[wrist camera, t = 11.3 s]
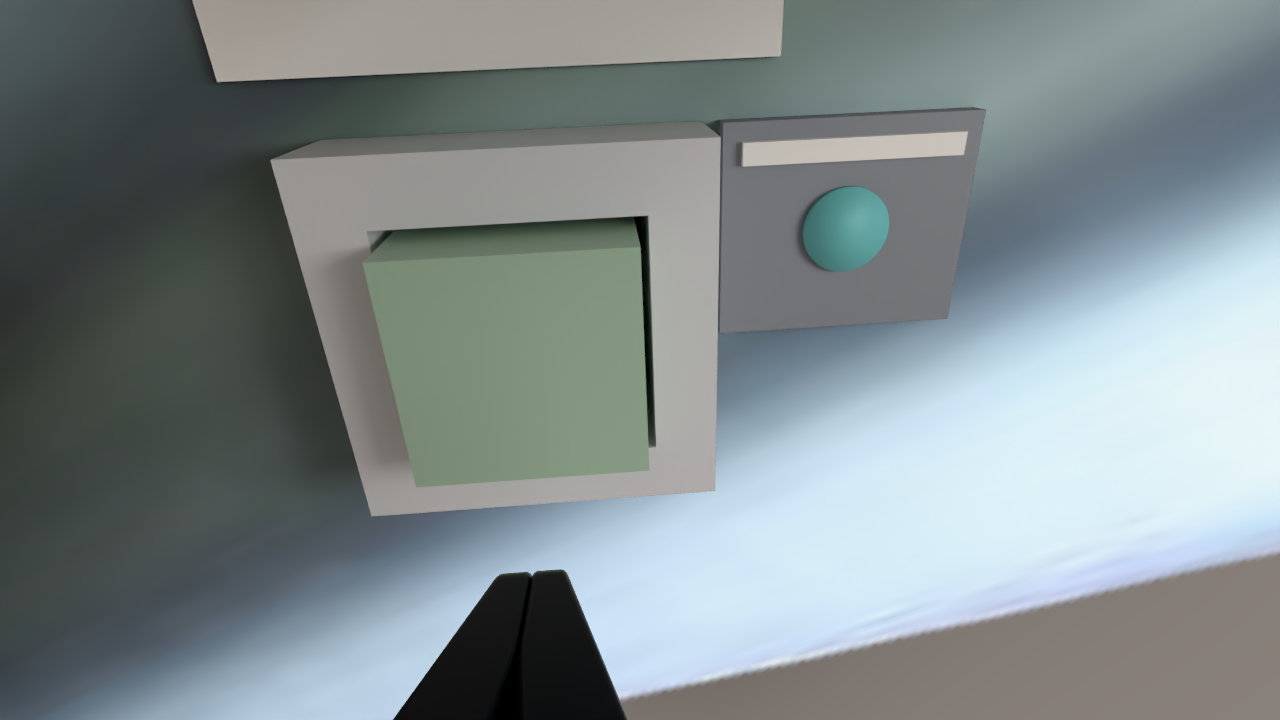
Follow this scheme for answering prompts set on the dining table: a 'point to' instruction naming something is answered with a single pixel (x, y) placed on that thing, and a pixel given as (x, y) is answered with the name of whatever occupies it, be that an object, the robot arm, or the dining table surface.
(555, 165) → the button housing
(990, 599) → the dining table surface
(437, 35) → the paper
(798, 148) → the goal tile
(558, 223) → the button
